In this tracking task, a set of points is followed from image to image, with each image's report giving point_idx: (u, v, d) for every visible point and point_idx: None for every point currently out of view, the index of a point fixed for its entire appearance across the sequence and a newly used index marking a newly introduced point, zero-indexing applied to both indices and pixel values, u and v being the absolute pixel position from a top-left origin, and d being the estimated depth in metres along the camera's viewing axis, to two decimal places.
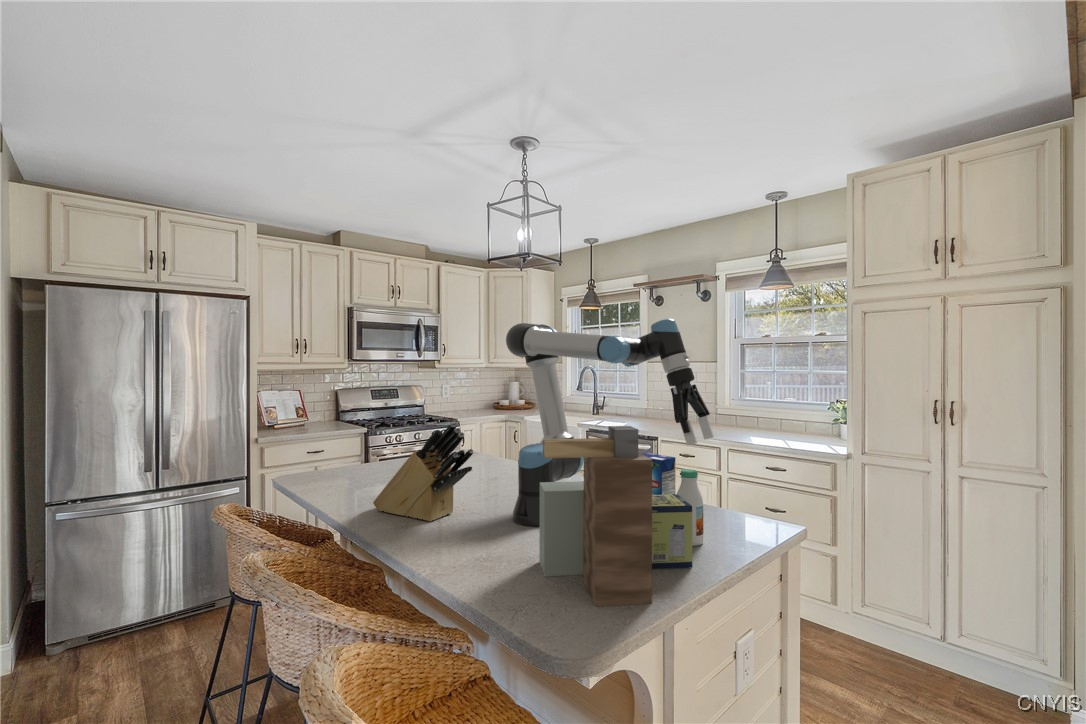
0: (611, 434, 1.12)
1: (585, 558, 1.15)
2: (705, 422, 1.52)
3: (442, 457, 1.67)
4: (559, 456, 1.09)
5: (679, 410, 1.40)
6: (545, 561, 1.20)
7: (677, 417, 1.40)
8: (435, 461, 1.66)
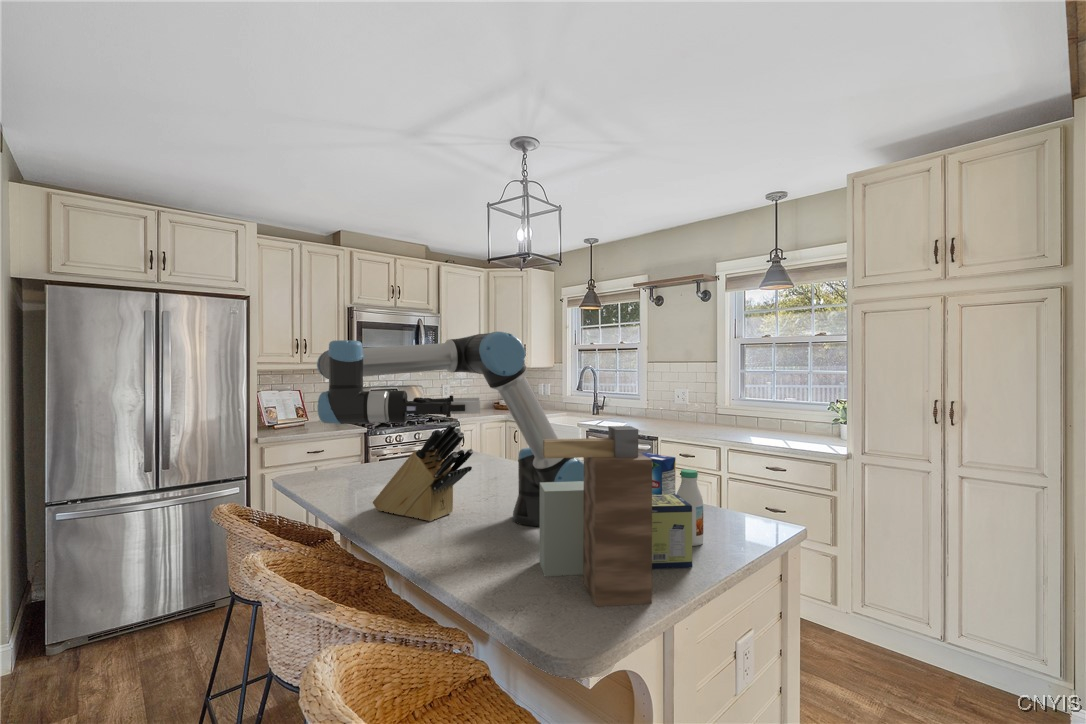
0: (611, 434, 1.12)
1: (585, 558, 1.15)
2: None
3: (442, 457, 1.67)
4: (559, 456, 1.09)
5: None
6: (545, 561, 1.20)
7: None
8: (435, 461, 1.67)
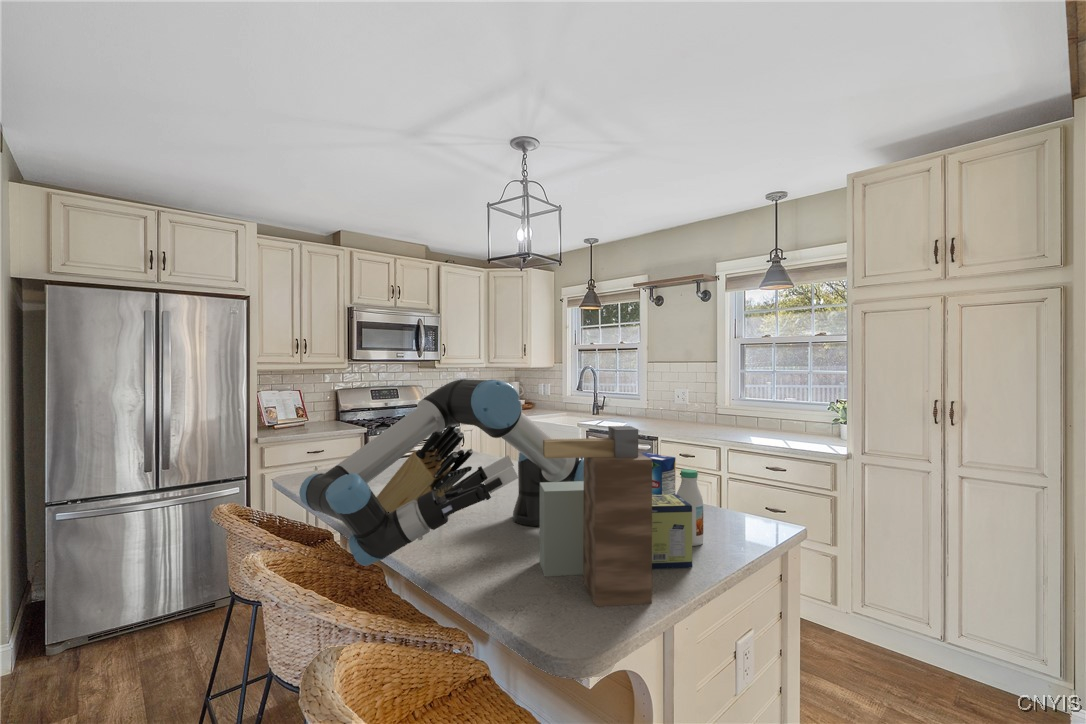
0: (611, 434, 1.12)
1: (585, 558, 1.15)
2: None
3: (442, 457, 1.67)
4: (559, 456, 1.09)
5: None
6: (545, 561, 1.20)
7: None
8: (435, 461, 1.67)
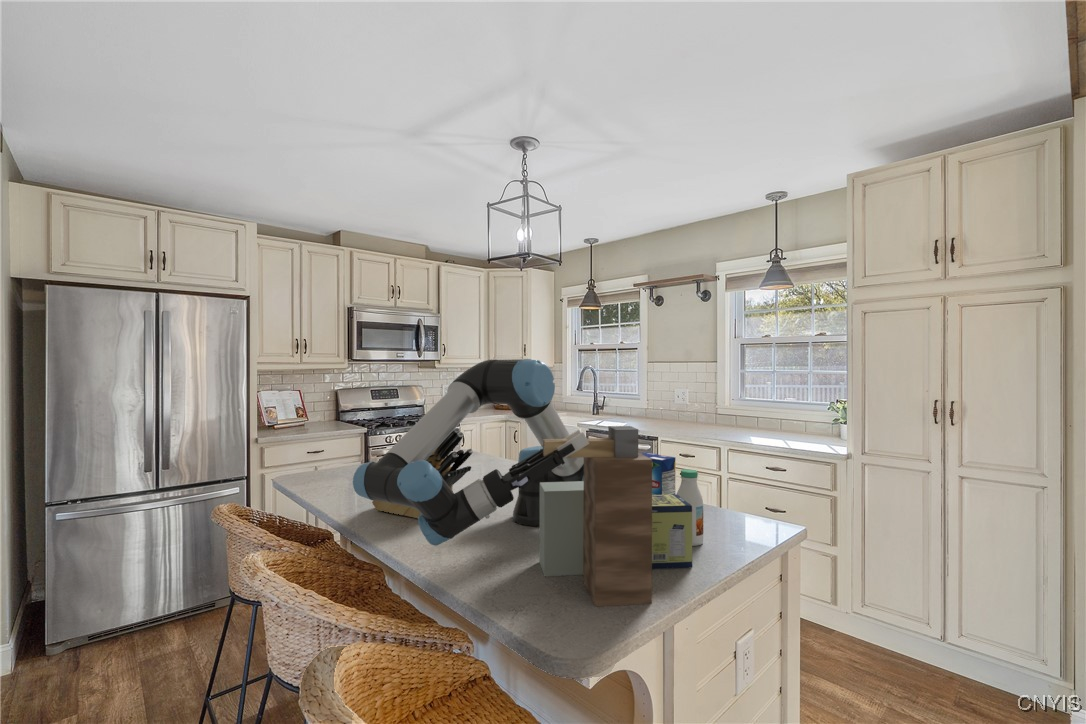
0: (611, 434, 1.12)
1: (585, 558, 1.15)
2: None
3: (441, 457, 1.67)
4: None
5: None
6: (545, 561, 1.20)
7: None
8: (434, 461, 1.67)
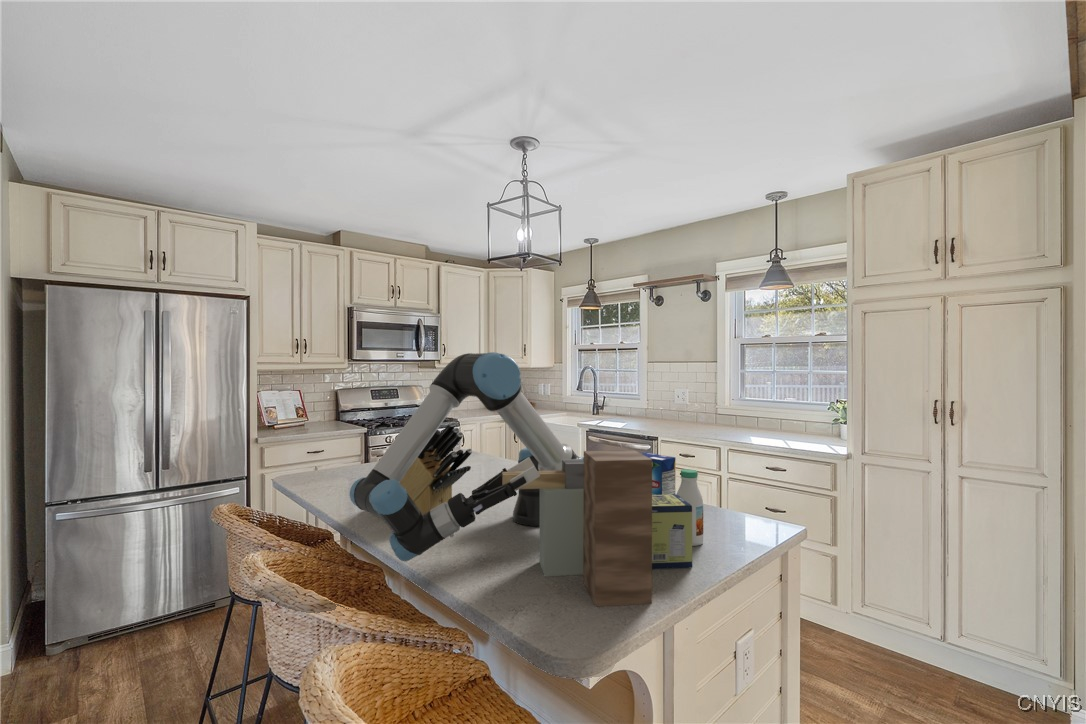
0: (563, 467, 1.26)
1: (585, 558, 1.15)
2: None
3: (441, 457, 1.68)
4: None
5: None
6: (545, 561, 1.20)
7: None
8: (434, 461, 1.67)
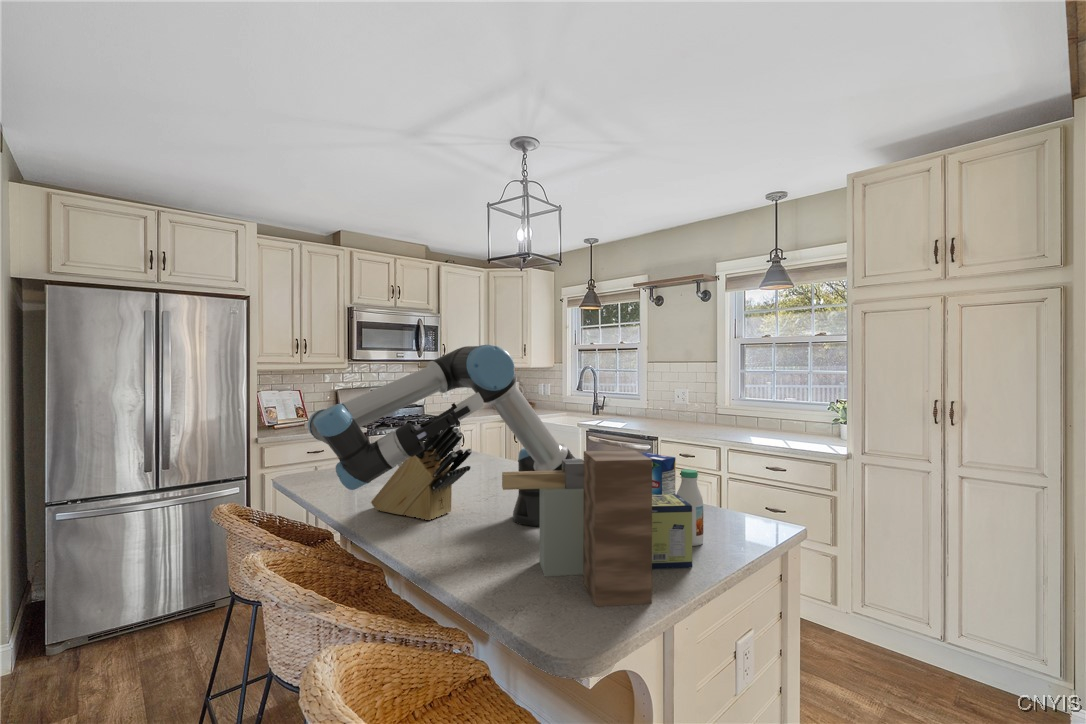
0: (563, 467, 1.26)
1: (585, 558, 1.15)
2: None
3: (440, 457, 1.68)
4: (515, 488, 1.22)
5: None
6: (545, 561, 1.20)
7: None
8: (433, 461, 1.67)
